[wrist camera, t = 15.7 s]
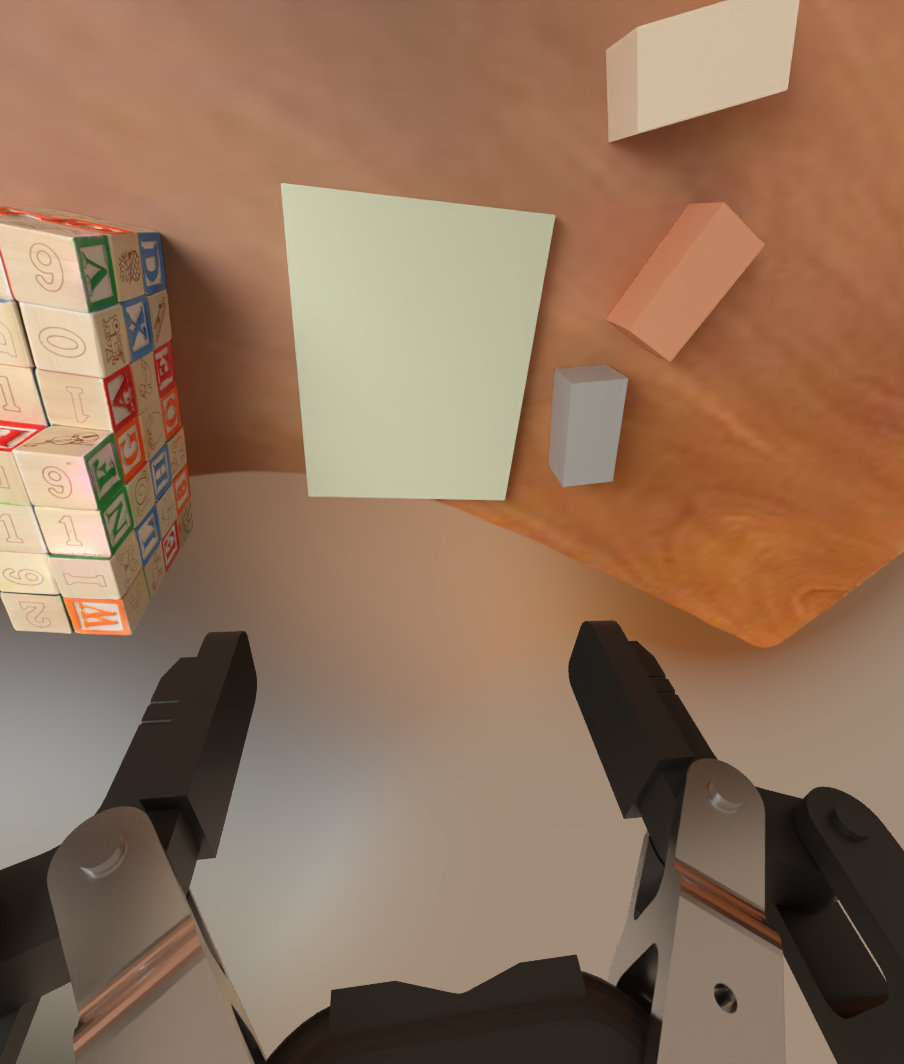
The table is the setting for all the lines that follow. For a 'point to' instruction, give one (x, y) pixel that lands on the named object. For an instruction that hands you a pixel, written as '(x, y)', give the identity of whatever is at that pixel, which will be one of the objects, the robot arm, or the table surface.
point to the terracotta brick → (685, 278)
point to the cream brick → (699, 64)
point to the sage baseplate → (411, 340)
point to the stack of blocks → (86, 423)
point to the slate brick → (586, 423)
